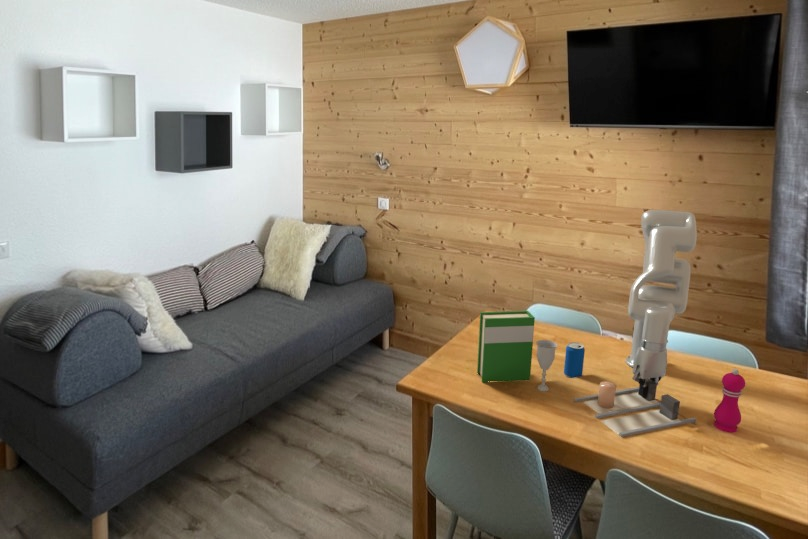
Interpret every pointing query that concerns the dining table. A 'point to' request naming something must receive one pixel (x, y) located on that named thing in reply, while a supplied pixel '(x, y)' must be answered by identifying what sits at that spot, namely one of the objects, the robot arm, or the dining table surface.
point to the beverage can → (574, 360)
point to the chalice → (545, 359)
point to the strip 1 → (627, 400)
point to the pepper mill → (729, 403)
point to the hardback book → (505, 345)
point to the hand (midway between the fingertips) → (646, 395)
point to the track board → (633, 409)
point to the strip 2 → (647, 417)
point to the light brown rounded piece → (606, 394)
